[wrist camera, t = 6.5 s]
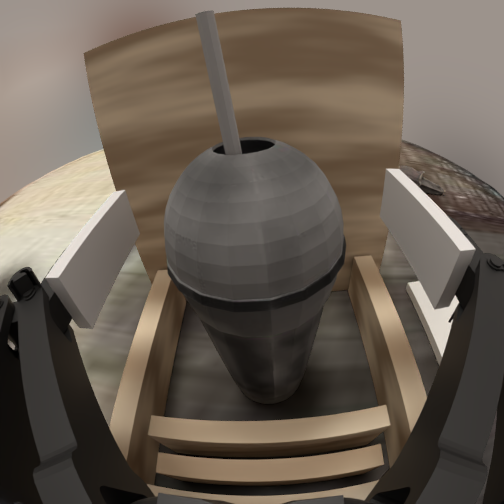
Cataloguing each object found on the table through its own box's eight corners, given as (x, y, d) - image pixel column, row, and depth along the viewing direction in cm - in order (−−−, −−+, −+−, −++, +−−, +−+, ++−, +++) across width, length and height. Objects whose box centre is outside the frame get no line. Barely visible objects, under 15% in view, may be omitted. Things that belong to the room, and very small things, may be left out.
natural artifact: (442, 206, 37) (448, 194, 33) (318, 172, 47) (314, 159, 43) (444, 187, 37) (449, 174, 34) (325, 156, 47) (321, 142, 44)
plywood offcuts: (373, 498, 10) (401, 495, 7) (171, 505, 11) (138, 502, 8) (364, 428, 14) (386, 404, 11) (178, 436, 15) (151, 415, 12)
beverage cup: (335, 351, 19) (365, 24, 7) (295, 438, 14) (305, -46, 2) (248, 323, 22) (205, 38, 10) (198, 394, 17) (64, 56, 5)
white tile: (552, 369, 11) (557, 364, 10) (458, 427, 12) (464, 423, 11) (498, 273, 22) (500, 267, 21) (405, 288, 23) (407, 282, 22)
